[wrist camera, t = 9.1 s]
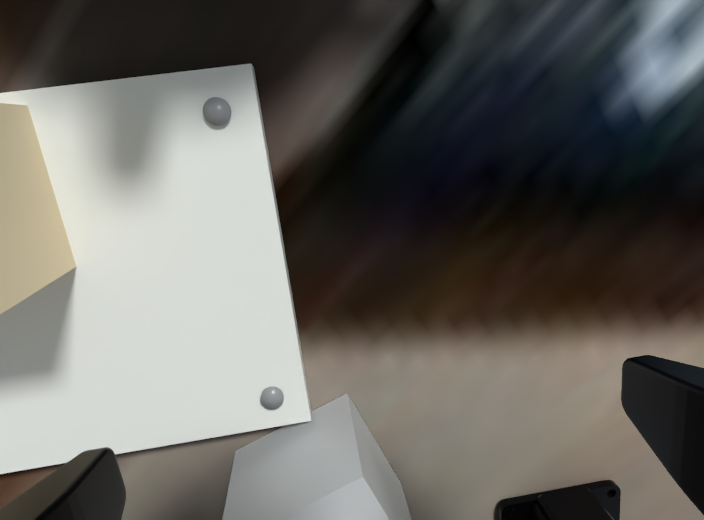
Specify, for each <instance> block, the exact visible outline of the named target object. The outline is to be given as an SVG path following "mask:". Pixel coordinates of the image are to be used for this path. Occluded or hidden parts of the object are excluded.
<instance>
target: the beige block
mask: <svg viewBox="0 0 704 520" xmlns="http://www.w3.org/2000/svg"><path fill="white" fill-rule="evenodd" d="M75 267H76V263H75V260H74V257H73V253H72V250H71V247H70V244H69V240H68V237H67V234H66V230H65V227H64V224H63V220H62V217H61V214H60V210H59V207H58V204H57V201H56V197H55V194H54V191H53V187H52V184H51V181H50V177H49V174H48V171H47V167H46V164H45V161H44V158H43V154H42V151H41V148H40V144H39V141H38V138H37V134H36V131H35V128H34V124H33V121H32V118H31V115H30V111H29V108H28V105H17V104H5V103H0V314H2V313H3V312H5V311H7V310H8V309H10V308H11V307H13V306H15V305H16V304H18V303H19V302H21V301H22V300H24V299H26V298H27V297H29V296H30V295H32V294H34V293H35V292H37V291H38V290H40V289H42V288H43V287H45V286H46V285H48V284H49V283H51V282H53V281H54V280H56V279H57V278H59V277H61V276H62V275H64V274H65V273H67V272H69V271H70V270H72V269H73V268H75Z"/></svg>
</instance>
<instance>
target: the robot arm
mask: <svg viewBox="0 0 704 520" xmlns="http://www.w3.org/2000/svg"><path fill="white" fill-rule="evenodd" d="M621 401H622V405H623V408H624V410H625V412H626V414H627V416H628V417H629V418H630V420H631V421H632V423H633V424H634V425H635V427H636V428H637V429H638V431H639V432H640V434H641V435H642V436H643V438H644V439H645V440H646V442H647V443H648V445H649V446H650V447H651V449H652V450H653V452H654V453H655V454H656V456H657V457H658V458H659V460H660V461H661V463H662V464H663V465H664V467H665V468H666V469H667V471H668V472H669V474H670V475H671V476H672V478H673V479H674V480H675V481H676V483H677V484H678V485H679V487H680V488H681V489H682V490H683V492H684V493H685V494H686V495H687V496H688V497H689V499H690V500H691V501H692V502H693V503H694V504H695V506H696V507H697V508H698V509H699V510H700V511H701V513H702V514H703V515H704V368H700V367H696V366H692V365H688V364H684V363H680V362H676V361H671V360H667V359H663V358H659V357H655V356H650V355H645V356H639V357H633V358H628V359H627V360H626V361H625V362H624V363H623V367H622V391H621ZM609 490H610V491H609ZM125 500H126V490H125V485H124V482H123V479H122V475H121V472H120V469H119V465H118V462H117V459H116V456H115V453H114V452H113V450H112V449H110V448H109V447H104V448H98V449H92V450H87V451H84V452H82V453H80V454H79V455H77V456H76V457H75V458H73V459H72V460H70V461H69V462H67V463H66V464H64V465H63V466H61V467H60V468H59V469H57V470H56V471H54V472H53V473H51V474H50V475H48V476H47V477H46V478H44V479H43V480H41V481H40V482H38V483H37V484H35V485H34V486H33V487H31V488H30V489H28V490H27V491H25V492H24V493H22V494H21V495H19V496H18V497H17V498H15V499H14V500H12V501H11V502H9V503H8V504H6V505H5V506H4V507H2V508H1V509H0V520H121V518H122V514H123V510H124V505H125ZM508 509H510V510H508ZM507 510H508V511H507ZM498 518H499V520H619V518H620V488H619V487H618V486H617V485H616V484H615V483H614V482H613V481H611V480H606V481H600V482H595V483H590V484H584V485H579V486H574V487H569V488H563V489H558V490H553V491H547V492H542V493H537V494H531V495H526V496H521V497H515V498H510V499H506V500H503V501H502V502H501V503H500V504H499V506H498Z"/></svg>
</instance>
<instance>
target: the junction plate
mask: <svg viewBox="0 0 704 520" xmlns="http://www.w3.org/2000/svg"><path fill="white" fill-rule="evenodd" d="M0 103H5V104H17V105H28V108H29V111H30V115H31V118H32V121H33V124H34V128H35V131H36V134H37V138H38V141H39V144H40V148H41V151H42V154H43V158H44V161H45V164H46V167H47V171H48V174H49V177H50V181H51V184H52V187H53V191H54V194H55V197H56V201H57V204H58V207H59V210H60V214H61V217H62V220H63V224H64V227H65V230H66V234H67V237H68V240H69V244H70V247H71V250H72V253H73V257H74V260H75V263H76V267H75V268H73V269H72V270H70V271H69V272H67V273H65V274H64V275H62V276H61V277H59V278H57V279H56V280H54V281H53V282H51V283H49V284H48V285H46V286H45V287H43V288H42V289H40V290H38V291H37V292H35V293H34V294H32V295H30V296H29V297H27V298H26V299H24V300H22V301H21V302H19V303H18V304H16V305H15V306H13V307H11V308H10V309H8V310H7V311H5V312H3V313H2V314H0V474H4V473H10V472H16V471H21V470H27V469H33V468H39V467H45V466H51V465H56V464H62V463H67V462H69V461H70V460H72V459H73V458H75V457H76V456H77V455H79V454H80V453H82V452H84V451H87V450H92V449H98V448H104V447H109V448H110V449H112V450H113V452H114V453H115V454H120V453H126V452H132V451H138V450H144V449H150V448H155V447H161V446H167V445H173V444H179V443H184V442H190V441H196V440H202V439H208V438H214V437H219V436H225V435H231V434H237V433H243V432H249V431H254V430H260V429H266V428H272V427H278V426H284V425H289V424H295V423H301V422H307V421H311V405H310V399H309V393H308V387H307V381H306V375H305V369H304V363H303V357H302V351H301V345H300V339H299V333H298V327H297V321H296V315H295V310H294V304H293V298H292V292H291V286H290V280H289V274H288V268H287V262H286V256H285V250H284V244H283V238H282V232H281V226H280V220H279V214H278V208H277V202H276V196H275V190H274V184H273V178H272V172H271V166H270V160H269V154H268V148H267V142H266V136H265V130H264V125H263V119H262V113H261V107H260V101H259V95H258V89H257V83H256V77H255V71H254V67H253V65H252V64H242V65H234V66H226V67H217V68H209V69H200V70H192V71H183V72H175V73H166V74H158V75H149V76H141V77H132V78H124V79H115V80H107V81H99V82H90V83H82V84H73V85H65V86H56V87H48V88H39V89H31V90H22V91H14V92H5V93H0Z"/></svg>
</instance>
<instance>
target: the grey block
mask: <svg viewBox="0 0 704 520" xmlns="http://www.w3.org/2000/svg"><path fill="white" fill-rule="evenodd" d="M222 520H411V516H410V513H409V509H408V506H407V502H406V499H405V495H404V492H403V489H402V485H401V483H400V481H399V479H398V478H397V476H396V474H395V473H394V471H393V469H392V468H391V466H390V464H389V463H388V461H387V459H386V458H385V456H384V454H383V452H382V451H381V449H380V447H379V446H378V444H377V442H376V441H375V439H374V437H373V436H372V434H371V432H370V431H369V429H368V427H367V425H366V424H365V422H364V420H363V419H362V417H361V415H360V414H359V412H358V410H357V409H356V407H355V405H354V404H353V402H352V400H351V398H350V397H349V395H348V393H346V394H345V395H343V396H341V397H339V398H337V399H335V400H333V401H331V402H329V403H327V404H325V405H323V406H321V407H319V408H317V409H315V410H314V411H312V412H311V421H307V422H301V423H295V424H289V425H284V426H283V427H281V428H279V429H277V430H275V431H273V432H271V433H269V434H267V435H265V436H263V437H261V438H259V439H257V440H255V441H253V442H251V443H250V444H248V445H246V446H244V447H242V448H240V449H238V450H236V451H235V456H234V462H233V467H232V472H231V477H230V482H229V488H228V493H227V498H226V503H225V509H224V514H223V519H222Z"/></svg>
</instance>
